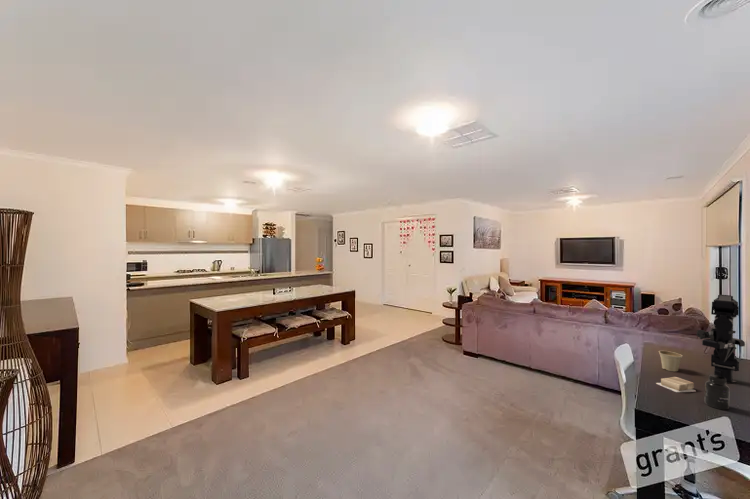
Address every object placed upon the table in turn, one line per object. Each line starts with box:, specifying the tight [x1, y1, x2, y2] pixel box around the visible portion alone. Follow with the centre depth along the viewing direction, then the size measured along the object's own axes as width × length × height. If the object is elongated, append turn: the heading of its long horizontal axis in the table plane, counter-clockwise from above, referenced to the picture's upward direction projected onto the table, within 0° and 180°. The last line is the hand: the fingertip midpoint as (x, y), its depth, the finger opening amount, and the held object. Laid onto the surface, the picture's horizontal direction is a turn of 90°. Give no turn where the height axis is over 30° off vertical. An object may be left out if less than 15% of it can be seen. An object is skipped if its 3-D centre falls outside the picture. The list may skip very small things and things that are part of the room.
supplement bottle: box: [704, 374, 731, 411], centre depth 128 cm, size 7×7×12 cm
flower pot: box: [658, 350, 684, 372], centre depth 168 cm, size 9×9×9 cm
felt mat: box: [655, 382, 697, 393], centre depth 145 cm, size 10×9×1 cm
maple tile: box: [660, 376, 695, 391], centre depth 145 cm, size 3×7×10 cm
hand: (722, 361), depth 144 cm, fingers closed
